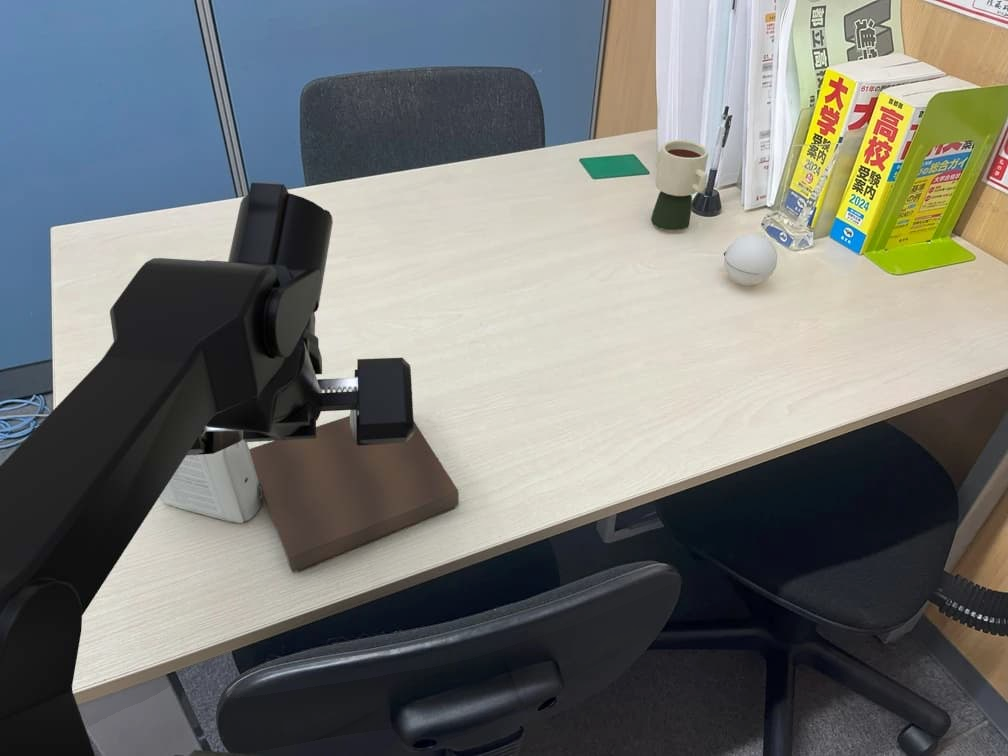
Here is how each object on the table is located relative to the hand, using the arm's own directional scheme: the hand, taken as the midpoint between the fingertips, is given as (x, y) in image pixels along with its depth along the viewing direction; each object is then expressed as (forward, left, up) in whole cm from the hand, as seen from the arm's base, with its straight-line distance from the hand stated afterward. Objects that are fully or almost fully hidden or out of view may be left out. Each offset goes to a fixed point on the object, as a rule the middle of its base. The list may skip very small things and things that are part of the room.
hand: (297, 430), depth 60 cm
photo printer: (-8, +8, -14) cm, 18 cm away
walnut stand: (+5, +4, -14) cm, 15 cm away
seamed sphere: (+68, +15, -14) cm, 71 cm away
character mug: (+70, +33, -14) cm, 78 cm away
